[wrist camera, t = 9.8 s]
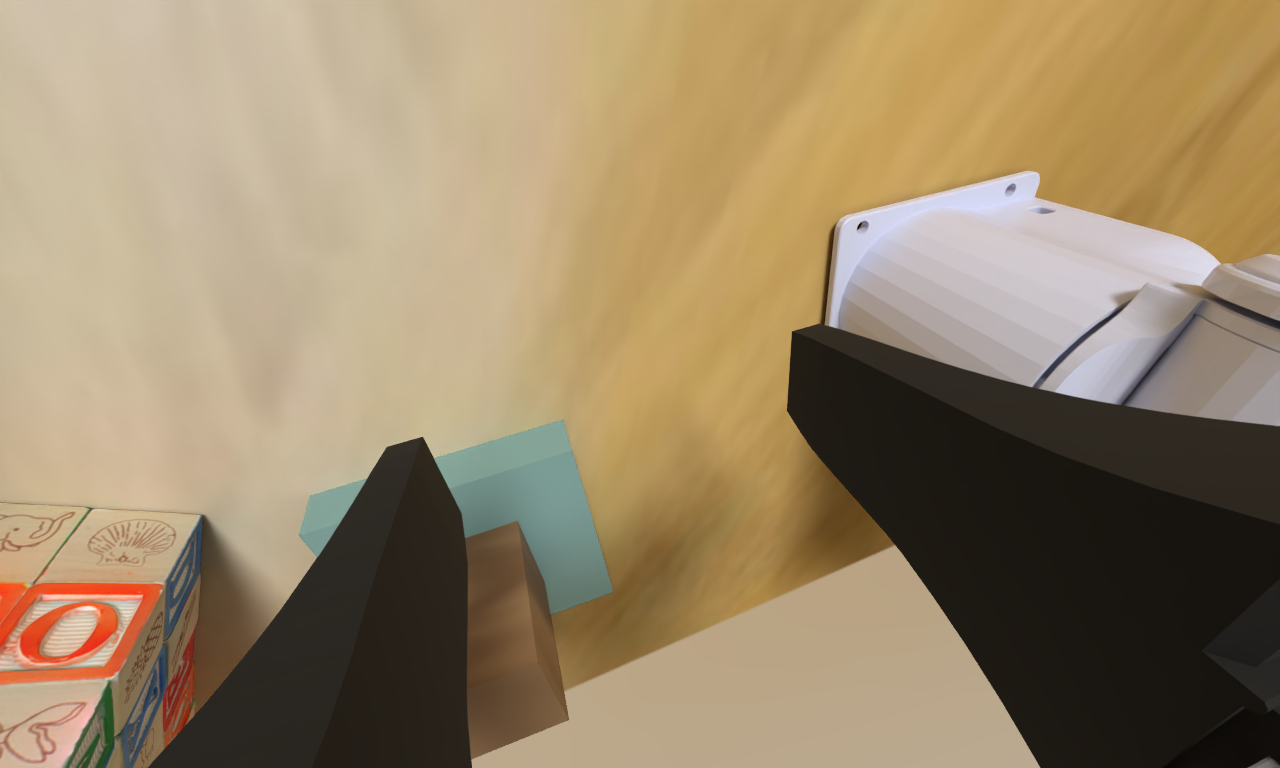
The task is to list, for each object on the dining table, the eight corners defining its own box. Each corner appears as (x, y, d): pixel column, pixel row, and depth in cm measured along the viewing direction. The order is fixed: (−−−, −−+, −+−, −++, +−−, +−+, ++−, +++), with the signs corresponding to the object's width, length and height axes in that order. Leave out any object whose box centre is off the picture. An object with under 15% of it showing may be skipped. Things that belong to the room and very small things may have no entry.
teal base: (560, 412, 22) (572, 449, 20) (601, 552, 28) (613, 592, 26) (313, 486, 20) (298, 535, 18) (414, 617, 26) (411, 665, 24)
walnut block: (517, 520, 21) (537, 662, 16) (544, 582, 23) (569, 719, 19) (405, 557, 20) (392, 718, 15) (447, 617, 23) (446, 769, 18)
